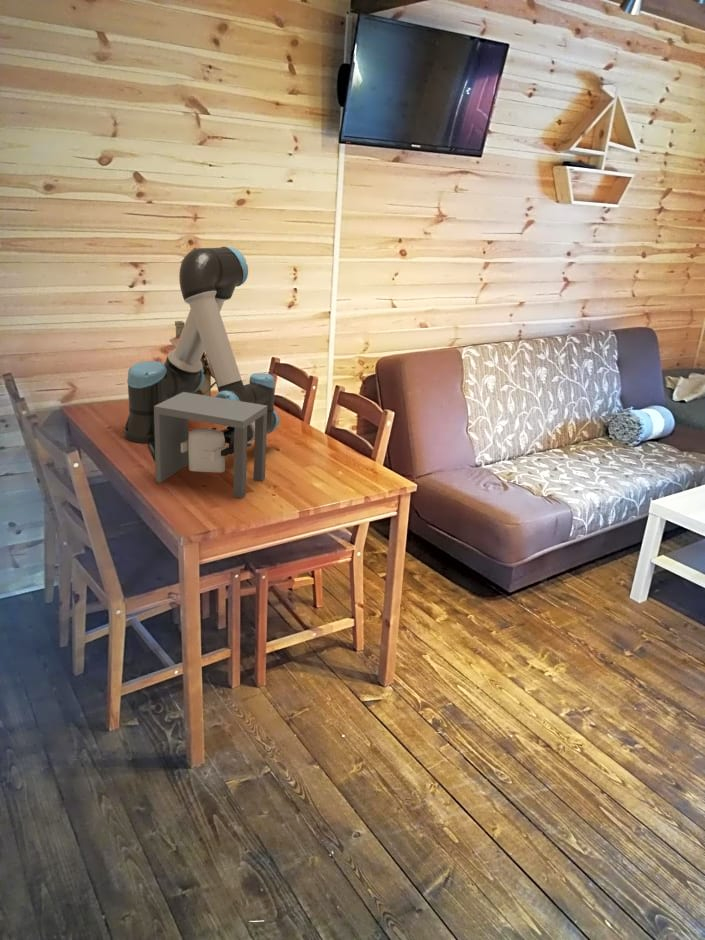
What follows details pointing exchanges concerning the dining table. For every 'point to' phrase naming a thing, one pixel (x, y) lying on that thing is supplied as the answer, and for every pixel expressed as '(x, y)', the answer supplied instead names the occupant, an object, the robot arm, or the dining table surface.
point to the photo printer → (205, 450)
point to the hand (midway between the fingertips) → (196, 452)
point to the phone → (152, 449)
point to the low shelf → (211, 410)
